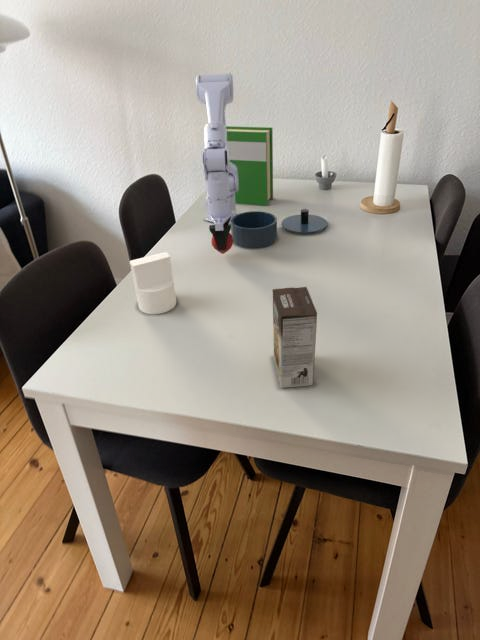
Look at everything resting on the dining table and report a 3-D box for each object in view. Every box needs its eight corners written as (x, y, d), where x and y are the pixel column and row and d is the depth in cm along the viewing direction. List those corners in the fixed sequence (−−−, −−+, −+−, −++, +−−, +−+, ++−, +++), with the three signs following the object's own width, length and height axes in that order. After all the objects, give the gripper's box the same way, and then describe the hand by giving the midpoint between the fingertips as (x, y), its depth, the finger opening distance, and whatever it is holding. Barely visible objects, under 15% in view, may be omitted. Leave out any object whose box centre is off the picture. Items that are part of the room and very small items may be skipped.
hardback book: (273, 198, 169) (272, 127, 156) (267, 205, 163) (265, 132, 150) (227, 194, 174) (222, 126, 161) (219, 201, 169) (214, 131, 155)
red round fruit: (234, 248, 133) (233, 221, 128) (232, 258, 128) (230, 230, 124) (214, 248, 134) (211, 222, 129) (211, 258, 129) (208, 230, 124)
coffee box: (272, 358, 94) (271, 288, 85) (304, 355, 94) (307, 285, 85) (279, 389, 87) (279, 315, 78) (314, 385, 87) (318, 312, 78)
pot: (222, 241, 141) (221, 222, 138) (251, 226, 149) (250, 208, 146) (258, 252, 133) (257, 232, 130) (285, 236, 142) (286, 217, 138)
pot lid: (272, 228, 147) (272, 213, 144) (298, 214, 156) (298, 199, 153) (310, 239, 139) (311, 223, 136) (336, 223, 148) (337, 207, 145)
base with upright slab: (145, 318, 108) (136, 271, 102) (133, 300, 115) (124, 256, 108) (182, 307, 112) (175, 261, 105) (168, 290, 118) (162, 246, 112)
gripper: (233, 206, 116) (236, 256, 123) (234, 186, 128) (237, 233, 135) (205, 207, 116) (209, 257, 123) (208, 187, 128) (212, 234, 135)
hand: (222, 244), depth 129 cm, fingers closed on red round fruit, 6 cm apart
